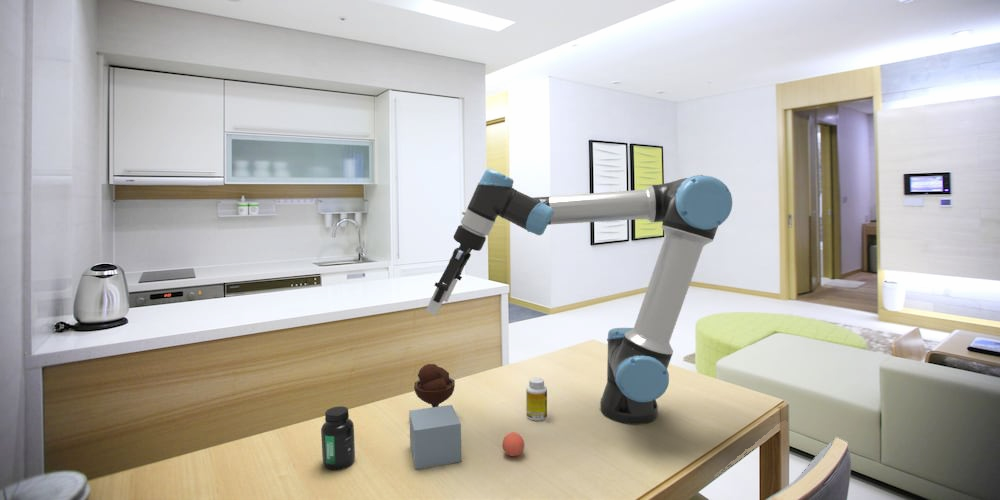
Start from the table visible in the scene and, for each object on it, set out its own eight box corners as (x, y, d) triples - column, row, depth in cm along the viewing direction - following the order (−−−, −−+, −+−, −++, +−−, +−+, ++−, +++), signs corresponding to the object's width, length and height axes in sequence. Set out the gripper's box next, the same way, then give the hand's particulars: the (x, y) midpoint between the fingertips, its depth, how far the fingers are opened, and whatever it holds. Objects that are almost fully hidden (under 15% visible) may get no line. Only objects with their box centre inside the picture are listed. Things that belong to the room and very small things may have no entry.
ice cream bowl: (449, 428, 119) (448, 371, 117) (408, 425, 121) (406, 369, 119) (461, 410, 129) (460, 358, 128) (422, 407, 131) (421, 355, 130)
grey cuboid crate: (452, 439, 113) (451, 404, 112) (461, 461, 104) (460, 423, 103) (410, 446, 110) (409, 410, 109) (415, 469, 101) (414, 430, 100)
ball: (520, 447, 109) (520, 427, 109) (527, 458, 105) (527, 437, 104) (499, 450, 108) (499, 430, 107) (506, 462, 103) (506, 440, 103)
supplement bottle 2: (548, 421, 122) (548, 383, 121) (527, 421, 122) (527, 384, 121) (545, 411, 128) (545, 375, 127) (525, 412, 128) (525, 376, 127)
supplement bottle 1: (332, 475, 99) (329, 421, 98) (317, 463, 104) (314, 411, 102) (361, 461, 104) (358, 410, 103) (345, 450, 109) (343, 401, 107)
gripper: (467, 220, 126) (434, 289, 129) (450, 227, 102) (410, 311, 105) (491, 232, 126) (458, 301, 129) (481, 242, 101) (440, 326, 105)
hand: (437, 306), depth 117 cm, fingers open, 13 cm apart
